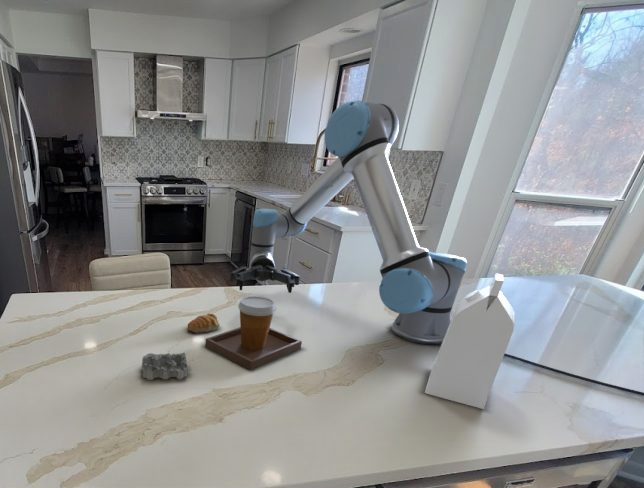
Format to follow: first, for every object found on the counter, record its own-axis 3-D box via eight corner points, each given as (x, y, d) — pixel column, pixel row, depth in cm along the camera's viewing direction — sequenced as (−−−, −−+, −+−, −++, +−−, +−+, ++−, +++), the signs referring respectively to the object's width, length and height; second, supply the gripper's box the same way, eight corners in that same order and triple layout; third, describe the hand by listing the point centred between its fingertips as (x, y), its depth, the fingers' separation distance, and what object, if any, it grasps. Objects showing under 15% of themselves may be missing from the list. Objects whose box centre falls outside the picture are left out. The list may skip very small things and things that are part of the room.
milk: (483, 409, 91) (536, 290, 78) (424, 393, 96) (464, 279, 83) (484, 385, 100) (532, 275, 87) (430, 371, 105) (468, 266, 92)
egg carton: (141, 380, 98) (140, 365, 96) (142, 365, 104) (142, 350, 102) (187, 380, 99) (188, 364, 96) (186, 365, 105) (186, 349, 103)
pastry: (196, 336, 120) (196, 323, 118) (181, 329, 124) (181, 316, 122) (221, 328, 125) (222, 316, 123) (206, 321, 129) (206, 309, 127)
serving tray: (300, 348, 115) (302, 340, 114) (250, 370, 104) (251, 361, 102) (254, 329, 125) (255, 321, 124) (205, 346, 114) (205, 338, 113)
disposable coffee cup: (230, 348, 112) (233, 304, 106) (240, 335, 120) (244, 293, 113) (266, 355, 109) (271, 310, 103) (274, 341, 117) (280, 298, 110)
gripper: (300, 280, 138) (309, 302, 120) (222, 276, 140) (220, 297, 121) (303, 256, 134) (313, 275, 116) (224, 252, 136) (221, 271, 118)
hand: (265, 286), depth 119 cm, fingers open, 13 cm apart
